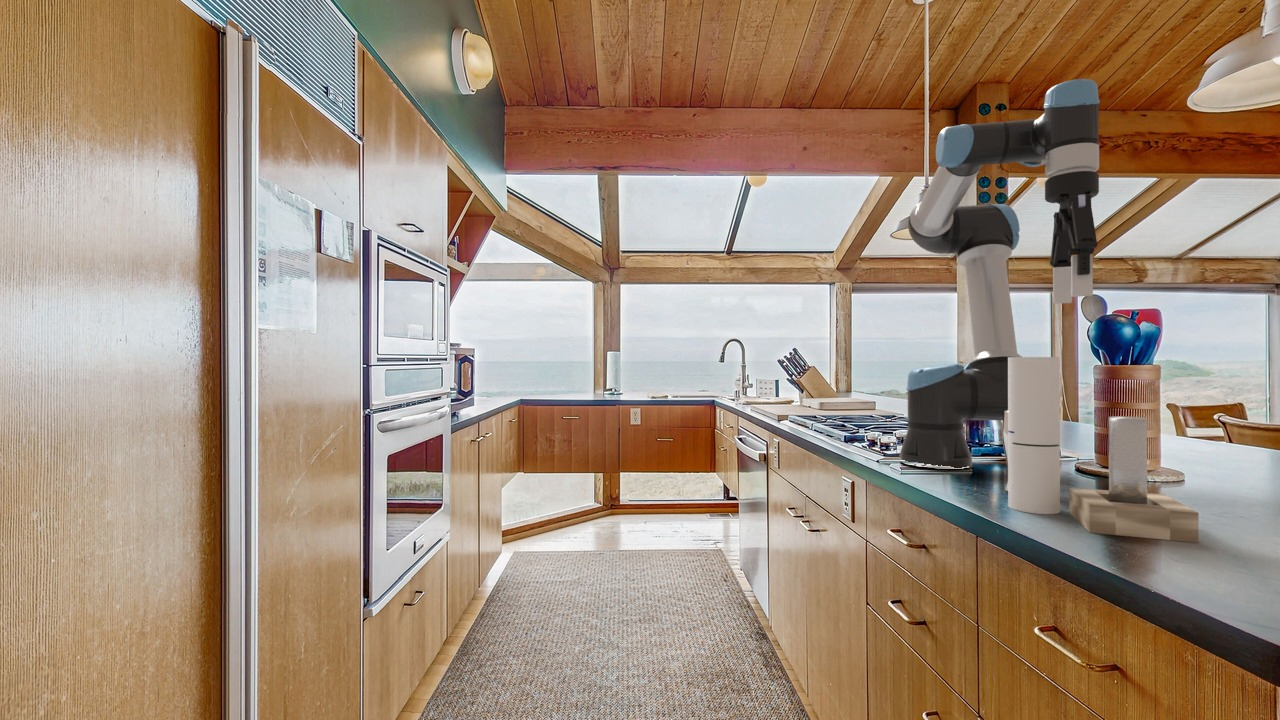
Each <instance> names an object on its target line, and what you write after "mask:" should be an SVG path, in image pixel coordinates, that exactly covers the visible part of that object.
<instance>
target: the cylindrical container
mask: <svg viewBox="0 0 1280 720" xmlns="http://www.w3.org/2000/svg"><path fill="white" fill-rule="evenodd" d="M1060 358H1061V357H1060V356H1029V357H1027V356H1022V357H1008V430H1009V431H1008V491H1007V492H1008V495H1007V496H1008V497H1007V498H1008V499H1007V500H1008V505H1007V506H1008V507H1009V508H1010V509H1011V510H1015V511H1018V512H1022V513H1028V514H1029V513H1030V514H1039V515H1055V514H1059V513H1061V445H1060V444H1061V432H1060V431H1061V423H1060V421H1061V417H1060V414H1061V413H1060V410H1061V407H1060V406H1061V404H1060V403H1061V402H1060V401H1061V400H1060V399H1061V396H1060V395H1061V391H1060V390H1061V389H1060V386H1061V384H1060V383H1061V381H1060V380H1061V378H1060V376H1061V375H1060V370H1061V369H1060V367H1061V366H1060V365H1061V364H1060V362H1061V360H1060Z"/></svg>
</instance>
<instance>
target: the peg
mask: <svg viewBox="0 0 1280 720" xmlns="http://www.w3.org/2000/svg"><path fill="white" fill-rule="evenodd" d="M1108 491H1109V502H1118V503H1131V504H1145V505H1147V493H1148V418H1146V417H1141V416H1140V417H1139V416H1123V415H1122V416H1119V415H1118V416H1114V415H1113V416H1108Z"/></svg>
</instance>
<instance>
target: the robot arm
mask: <svg viewBox="0 0 1280 720" xmlns="http://www.w3.org/2000/svg"><path fill="white" fill-rule="evenodd" d="M1098 87H1099V86H1098V84H1097V82H1096V81H1095V80H1092V79H1089V78H1080V79H1079V78H1077V79H1072V80H1067V81H1063V82H1061V83H1058V84H1056V85H1054V86H1051V88H1049V89H1048V90H1047V91H1046V93H1045V96H1044V103H1043V105H1042V106H1043V110H1044V113H1043V114H1042V115H1041V116H1040V117H1038V118H1034V119H1022V120H1010V121H1009V120H1008V121H997V122H986V123H985V122H984V123H973V124H971V123H970V124H968V123H967V124H966V123H965V124H964V123H963V124H960V125H954V126H946V127H945V128H943V129H942V130H941V131H940V132H939V134H938V136H937V142H936V146H935V159H936V163H937V165H938V167H937V169H936V170H935V173H934V174H933V177H932V179H931V180H930V184H929V185H928V187H927V190H926V191H925V194H924V195H923V197H922V200H921V201H920V202H918V203H917V204H916V205H915V206H914V207H913V208H912V209H911V212H910V214H909V217H908V221H907V227H908V228H907V229H908V232H909V235H910V237H911V238H912V240H913V241H914V243H916V245H918V246H919V248H922V249H923V250H925V251H926V252H930V253H932V254H939V255H940V254H941V255H943V254H945V255H948V254H949V255H950V254H951V255H952V254H953V255H954V254H956V256H957V258H956V259H957V262H958V263H959V265H961V266H963V267H965V274H966V275H965V276H966V285H967V295H968V303H969V305H968V306H969V314H970V322H971V332H972V333H971V334H972V340H973V341H972V342H973V343H972V344H973V352H974V353H973V354H974V358H972V360H971V361H969V362H968V368H967V369H965V366H964V365H963V364H962V363H961V362H959V363H948V364H946V363H945V364H937V365H930V366H929V365H928V366H922V367H916V368H913V369H911V370H910V371H909V373H908V375H907V385H906V391H907V431H906V435H905V438H904V440H903V443H902V446H901V448H900V451H899V459H900V458H901V459H902V460H905V461H908V462H918V463H924V464H931V465H938V466H941V465H942V466H951V467H954V468H962V467H967V466H969V467H971V468H973V457H972V454H971V451H970V449H969V446H968V442H967V440H966V438H965V435H964V421H1002V422H1003V410H1008V357H1023V356H1022V355H1020V354H1019V353H1018V349H1017V348H1018V347H1017V341H1016V340H1017V339H1016V333H1015V332H1016V331H1015V324H1014V316H1013V308H1012V300H1011V293H1010V286H1009V279H1008V269H1007V262H1006V261H1008V259H1009V258H1010V257H1011V255H1012V254H1013V251H1014V250H1016V248H1017V246H1018V245H1019V244H1018V243H1019V241H1020V234H1019V233H1020V232H1021V231H1020V222H1019V221H1020V220H1019V218H1018V216H1017V213H1016V212H1015V210H1014V209H1013V207H1012V206H1009V205H1007V204H1004V203H999V204H997V203H996V204H994V203H985V204H979V205H978V204H977V205H976V204H975V205H960V203H961V202H962V200H963V198H964V197H965V196H966V194H967V191H968V190H969V189H970V187H971V185H972V184H973V182H974V181H975V178H976V177H977V175H978V174H979V172H980V171H981V169H982V168H983V166H985V165H987V166H988V165H998V164H1012V163H1013V164H1014V163H1019V164H1020V165H1022V166H1026V167H1029V168H1037V167H1040V166H1045V167H1044V169H1045V170H1044V176H1045V178H1047V179H1046V181H1045V182H1044V200H1045V202H1047V203H1050V204H1059V208H1058V211H1055V212H1054V214H1053V231H1052V232H1053V233H1052V244H1051V252H1050V253H1051V254H1050V261H1049V265H1050V267H1052V303H1053V305H1054V304H1071V303H1072V304H1073V298H1075V297H1076V298H1078V297H1092V296H1094V286H1093V285H1094V278H1093V277H1094V275H1093V274H1094V272H1093V271H1094V262H1093V261H1094V258H1093V257H1094V256H1093V255H1094V252H1095V249H1096V248H1097V247H1098V245H1099V244H1098V240H1097V235H1096V234H1097V233H1096V229H1095V228H1096V227H1095V221H1094V215H1093V209H1092V199H1093V198H1095V197H1097V196H1098V195H1099V193H1100V174H1099V173H1097V171H1098V170H1099V169H1100V145H1099V128H1100V127H1099V124H1100V123H1099V120H1100V116H1099V115H1100V113H1099V112H1100V103H1101V101H1100V99H1099V88H1098Z"/></svg>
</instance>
